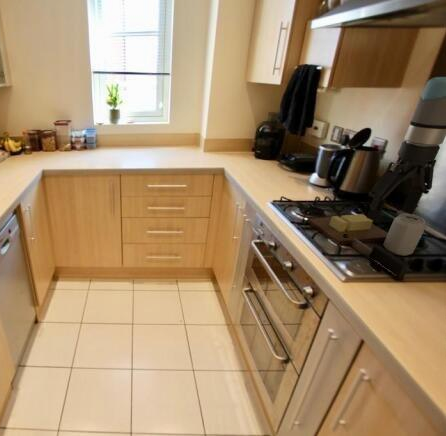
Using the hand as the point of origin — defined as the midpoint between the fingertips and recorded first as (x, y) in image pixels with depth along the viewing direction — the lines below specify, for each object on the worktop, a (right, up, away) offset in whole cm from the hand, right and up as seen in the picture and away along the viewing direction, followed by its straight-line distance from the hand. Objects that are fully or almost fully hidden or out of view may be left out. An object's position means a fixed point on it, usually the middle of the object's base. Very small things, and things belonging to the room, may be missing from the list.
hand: (389, 216), depth 91 cm
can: (+11, -11, +10) cm, 19 cm away
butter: (+5, -4, +21) cm, 22 cm away
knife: (-1, -13, +6) cm, 15 cm away
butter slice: (-1, -4, +20) cm, 21 cm away
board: (+3, -5, +22) cm, 22 cm away
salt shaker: (+27, -3, +26) cm, 37 cm away
